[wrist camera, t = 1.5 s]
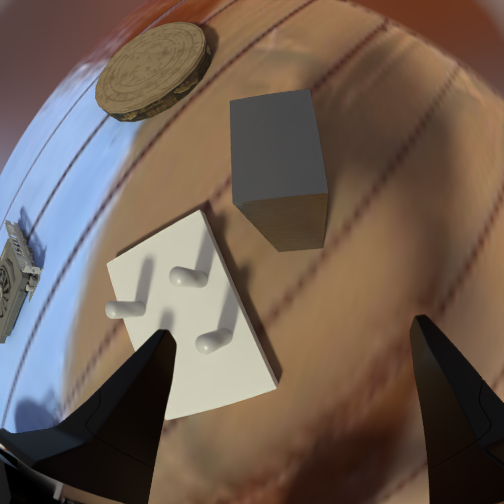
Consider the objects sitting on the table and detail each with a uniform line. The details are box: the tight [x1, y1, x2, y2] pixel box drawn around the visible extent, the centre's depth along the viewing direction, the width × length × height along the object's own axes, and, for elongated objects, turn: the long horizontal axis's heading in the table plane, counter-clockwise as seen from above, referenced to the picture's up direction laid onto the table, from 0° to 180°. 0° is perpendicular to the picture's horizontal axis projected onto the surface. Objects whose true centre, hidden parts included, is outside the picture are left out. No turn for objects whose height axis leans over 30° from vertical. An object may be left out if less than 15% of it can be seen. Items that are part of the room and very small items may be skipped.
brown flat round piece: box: [95, 22, 212, 122], centre depth 29 cm, size 16×16×3 cm
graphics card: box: [0, 220, 43, 344], centre depth 30 cm, size 17×4×12 cm
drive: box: [230, 89, 328, 252], centre depth 17 cm, size 5×4×13 cm
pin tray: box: [105, 210, 278, 420], centre depth 22 cm, size 16×11×5 cm
